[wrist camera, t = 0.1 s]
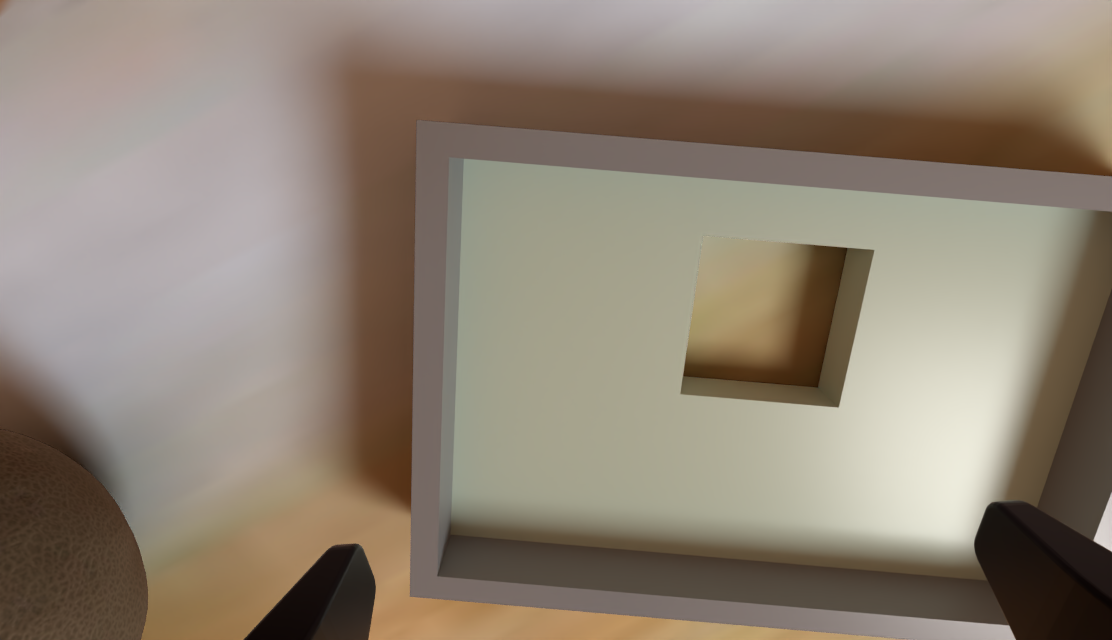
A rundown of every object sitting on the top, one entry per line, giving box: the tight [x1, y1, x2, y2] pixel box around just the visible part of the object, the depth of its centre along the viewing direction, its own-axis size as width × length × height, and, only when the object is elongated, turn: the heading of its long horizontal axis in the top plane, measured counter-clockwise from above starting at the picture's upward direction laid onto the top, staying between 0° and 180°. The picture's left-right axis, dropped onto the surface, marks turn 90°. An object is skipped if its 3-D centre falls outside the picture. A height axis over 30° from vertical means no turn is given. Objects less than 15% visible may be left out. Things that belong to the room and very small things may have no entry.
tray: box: [410, 120, 1112, 640], centre depth 22 cm, size 17×25×4 cm
